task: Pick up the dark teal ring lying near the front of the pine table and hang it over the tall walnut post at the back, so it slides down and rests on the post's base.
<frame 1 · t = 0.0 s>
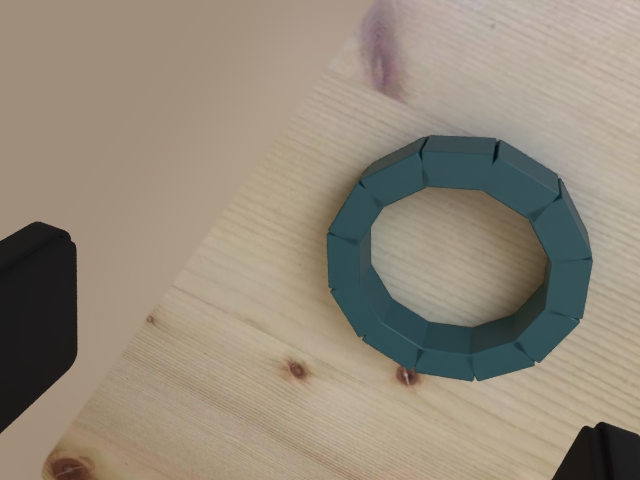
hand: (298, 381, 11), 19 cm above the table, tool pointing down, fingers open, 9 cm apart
ring: (455, 252, 29), on the table
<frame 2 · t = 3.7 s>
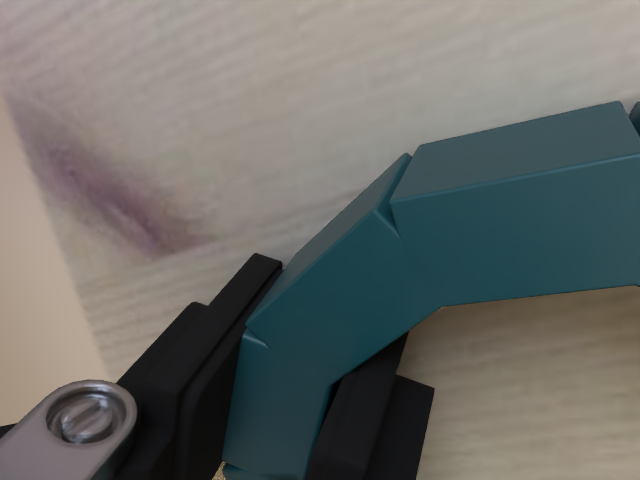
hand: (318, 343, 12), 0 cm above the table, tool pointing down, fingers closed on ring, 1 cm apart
ring: (574, 429, 11), on the table, touching gripper
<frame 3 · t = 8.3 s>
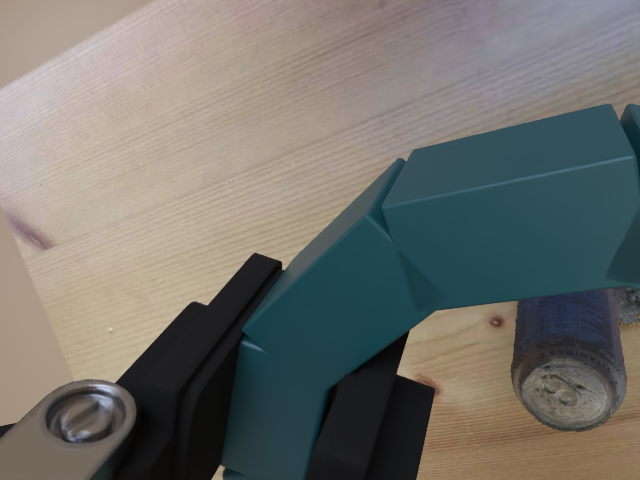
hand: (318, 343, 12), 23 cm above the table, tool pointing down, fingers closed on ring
can on ragged base: (572, 265, 34), on the table
ring: (573, 430, 11), point 23 cm above the table, touching gripper
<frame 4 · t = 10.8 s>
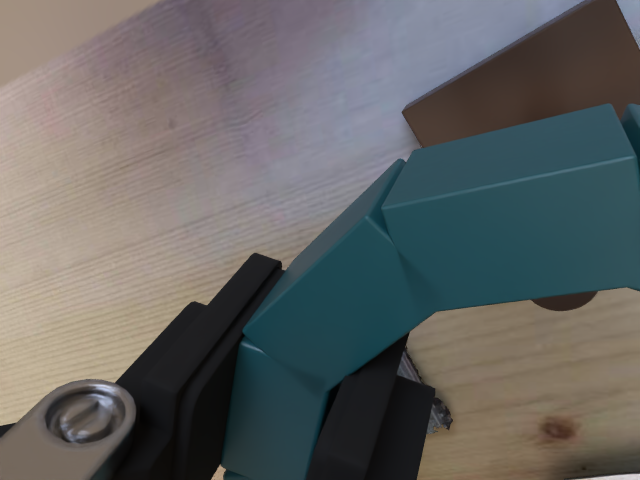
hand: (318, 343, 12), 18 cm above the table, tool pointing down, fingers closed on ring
can on ragged base: (375, 374, 35), on the table
post: (547, 142, 26), on the table
ring: (574, 431, 11), point 18 cm above the table, touching gripper
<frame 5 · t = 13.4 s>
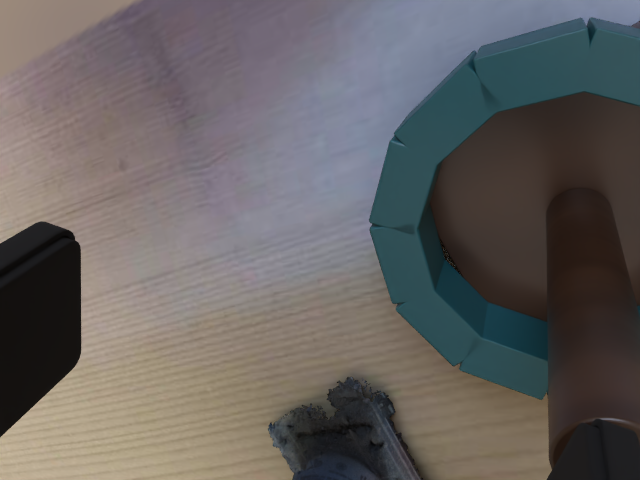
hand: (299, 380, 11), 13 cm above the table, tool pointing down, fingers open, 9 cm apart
can on ragged base: (365, 458, 29), on the table
post: (577, 202, 21), on the table
ring: (563, 210, 20), point 1 cm above the table, touching post
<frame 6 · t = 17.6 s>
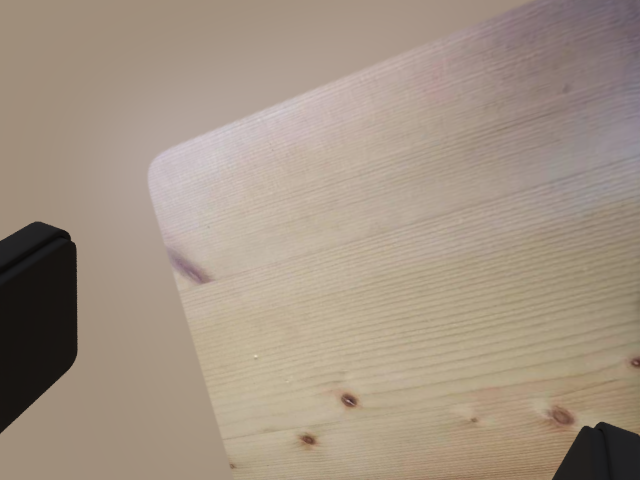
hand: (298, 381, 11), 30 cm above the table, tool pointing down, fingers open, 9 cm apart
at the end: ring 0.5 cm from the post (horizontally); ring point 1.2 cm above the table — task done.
